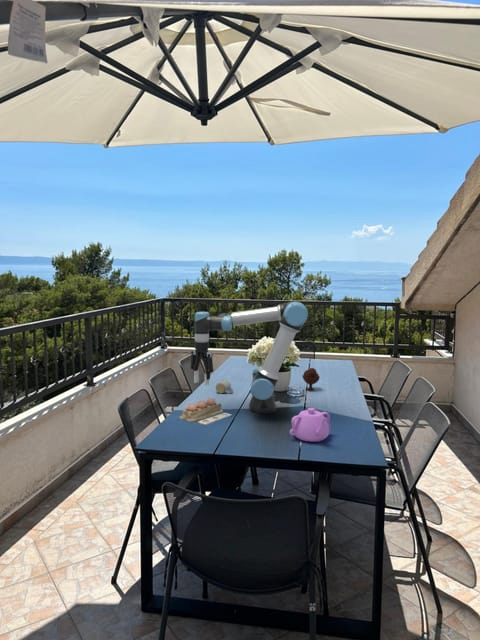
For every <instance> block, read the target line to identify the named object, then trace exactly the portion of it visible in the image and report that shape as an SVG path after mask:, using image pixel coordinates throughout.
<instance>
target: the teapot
mask: <svg viewBox="0 0 480 640" xmlns="http://www.w3.org/2000/svg"><path fill="white" fill-rule="evenodd" d="M324 415H326V417H325V416H324ZM330 420H331V416H330V414H329V413H328V412H326V411H322V412H321V411H318V410H316V408H314V407H308V408H307V409H305V410H301V411H300V412H299V413H298V415H297V414H296V415H294V416H293V417H291V427H292V428H291V429H290V430H289V434H290V435H291V436H295V438H296V439H298V440H301V441H304V442H308V441H309V442H310V443H311V442H312V443H313V442H321V441H324V440H325V439H327V438H328V436H329V435H330V430H331V429H332V426H331V424H329V423H330ZM309 442H308V443H309Z"/></svg>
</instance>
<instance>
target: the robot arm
mask: <svg viewBox="0 0 480 640" xmlns="http://www.w3.org/2000/svg"><path fill="white" fill-rule="evenodd" d="M308 316H309V313H308V309H307V307H306V305H305V304H303V303H302V302H300V301H299V300H292V301H289V302H284V303H279V304H278V305H277V306H271V307H262V308H257V309H256V308H255V309H249V310H248V309H247V310H243V311H242V310H241V311H234V312H226V313H225V312H223V313H220V314H218V315H210V313H209V311H196V312H195V314H194V321H193V322H194V341H195V342H194V349H195V350H192V351H191V353H190V354H191V360H190V370H193V377H194V378H193V383H194V384H197V383H200V375H199V374H200V370H199V366H200V362H201V361H202V363H203V366H204V369H205V370H204V371H205V372H204V386H210V379H211V373H214V364H213V356H214V354H213V353H210V352H209V348H210V342H209V340H210V331H224V332H227V331H231V330H232V329H233V327H236V326H237V327H238V326H242V325H243V326H245V325H251V324H252V325H253V324H258V323H266V322H275V321H279V325H280V326H279V330H278V331H277V334H276V336H275V338H274V341H273V343H272V345H271V347H270V350H269V352H268V353H267V356H266V359H265V360H264V363H263V365H262V367H261V368H254V369H252V373H251V374H252V381H251V385H250V391H251V393H252V395H251V399H250V402H249V405H248V410H249V411H250V412H252V413H256V414H271V413H274V412H276V411H277V405H276V402H275V398H274V392H275V388H276V385H277V383H278V381H279V376H278V373H279V371H280V369H281V367H282V364H283V363H284V360H285V358H286V356H287V355H288V352H289V349H290V347H291V345H292V343H293V341H294V338H295V336H296V334H297V333H300V332H301V330H302V328H303V326H304V323H306V322H307V320H308Z"/></svg>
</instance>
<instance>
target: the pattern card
mask: <svg viewBox="0 0 480 640" xmlns="http://www.w3.org/2000/svg"><path fill="white" fill-rule="evenodd" d="M229 417H232V414H231V413H227V412H222V413H219V414H216V415H213V416H210V417H207V418H204V419H201V420H198V421H197V422H198V424H201V425H204V426H206V425H209V424H213V423H214V422H218V421H220V420H223V419H226V418H229Z"/></svg>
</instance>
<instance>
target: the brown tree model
mask: <svg viewBox="0 0 480 640" xmlns="http://www.w3.org/2000/svg"><path fill="white" fill-rule="evenodd" d="M302 379H303V381H304V382H305V383H306V384H308V386H309V387H308V388H306V391H307V390H308V391H307V392H315V391H314V390H315V388H313V385H314V384H316V383H317V382H318V381H319V380H320V375H319V373H318V372H317V369H316V368H314V367H310V368H309V369H307V370H304V372H303V375H302Z"/></svg>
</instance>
